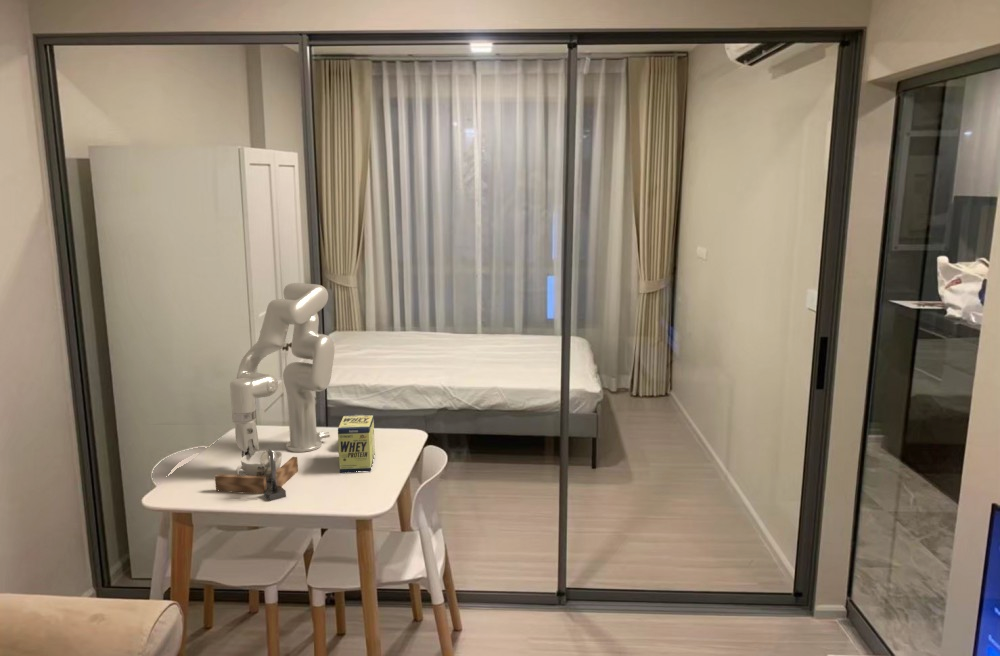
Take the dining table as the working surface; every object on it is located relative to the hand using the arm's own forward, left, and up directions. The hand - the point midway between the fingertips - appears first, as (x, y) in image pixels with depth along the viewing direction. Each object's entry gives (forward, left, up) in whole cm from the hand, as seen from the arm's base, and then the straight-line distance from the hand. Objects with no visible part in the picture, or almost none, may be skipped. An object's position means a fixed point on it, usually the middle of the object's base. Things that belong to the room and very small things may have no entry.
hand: (248, 468), depth 238 cm
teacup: (-1, +10, -1) cm, 10 cm away
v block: (0, +15, -1) cm, 15 cm away
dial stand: (0, +25, -1) cm, 25 cm away
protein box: (-32, +16, -2) cm, 36 cm away
